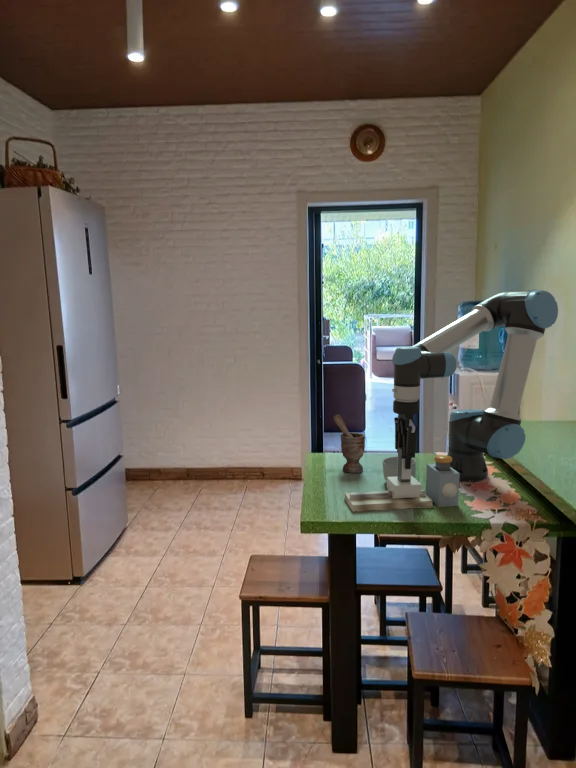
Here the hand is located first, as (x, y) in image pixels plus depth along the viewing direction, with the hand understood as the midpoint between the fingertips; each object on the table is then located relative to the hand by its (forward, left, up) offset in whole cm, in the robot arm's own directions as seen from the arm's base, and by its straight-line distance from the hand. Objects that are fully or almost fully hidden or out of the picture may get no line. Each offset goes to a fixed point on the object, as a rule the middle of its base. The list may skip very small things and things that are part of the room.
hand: (404, 476), depth 159 cm
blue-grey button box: (-12, 0, -8) cm, 15 cm away
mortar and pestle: (+9, -33, -8) cm, 35 cm away
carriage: (0, 0, -6) cm, 6 cm away
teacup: (-5, -18, -8) cm, 20 cm away
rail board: (+5, 0, -8) cm, 9 cm away
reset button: (-12, 0, -2) cm, 12 cm away
